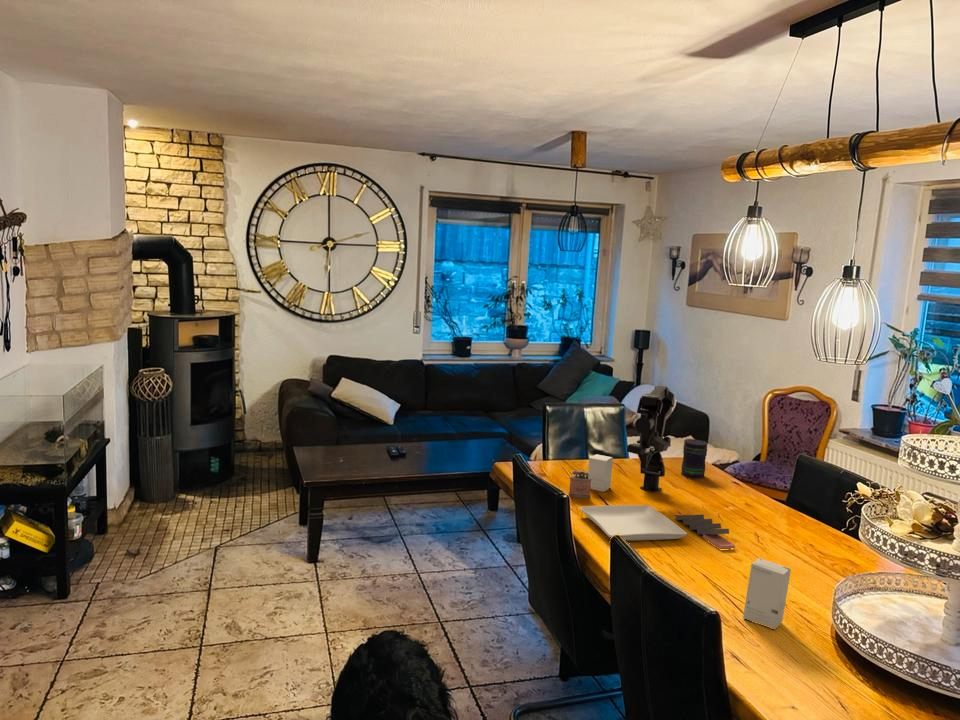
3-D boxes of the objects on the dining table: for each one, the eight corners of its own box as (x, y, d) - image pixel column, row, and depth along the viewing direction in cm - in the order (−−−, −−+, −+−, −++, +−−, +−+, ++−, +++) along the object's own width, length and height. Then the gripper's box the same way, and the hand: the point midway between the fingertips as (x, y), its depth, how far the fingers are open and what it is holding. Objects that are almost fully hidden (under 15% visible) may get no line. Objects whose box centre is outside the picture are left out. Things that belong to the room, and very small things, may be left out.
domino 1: (675, 515, 247) (690, 514, 238) (687, 514, 248) (703, 514, 239) (675, 520, 247) (691, 519, 237) (688, 519, 248) (704, 519, 239)
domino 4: (696, 529, 234) (715, 529, 225) (709, 528, 236) (728, 528, 227) (697, 534, 234) (716, 534, 225) (710, 533, 235) (729, 533, 226)
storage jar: (707, 479, 299) (711, 445, 297) (684, 478, 299) (687, 444, 298) (700, 472, 309) (703, 439, 307) (678, 471, 309) (681, 438, 307)
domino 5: (703, 534, 230) (721, 546, 221) (716, 533, 232) (735, 545, 222) (702, 539, 230) (720, 551, 221) (716, 538, 232) (734, 550, 222)
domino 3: (689, 524, 238) (707, 523, 229) (701, 524, 240) (720, 523, 231) (689, 529, 238) (708, 528, 228) (702, 529, 239) (721, 528, 230)
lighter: (589, 496, 268) (591, 470, 267) (590, 499, 265) (592, 473, 264) (568, 494, 269) (570, 468, 268) (568, 497, 266) (570, 471, 264)
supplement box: (611, 488, 280) (613, 457, 278) (603, 492, 274) (606, 460, 272) (593, 484, 284) (596, 453, 282) (586, 488, 278) (588, 457, 276)
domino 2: (682, 520, 243) (698, 519, 233) (695, 519, 244) (712, 518, 235) (683, 525, 242) (699, 524, 233) (696, 524, 243) (712, 523, 234)
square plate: (609, 546, 220) (610, 534, 220) (577, 516, 247) (578, 505, 246) (687, 543, 227) (689, 531, 226) (648, 513, 253) (649, 503, 253)
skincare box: (742, 619, 177) (748, 563, 175) (750, 611, 181) (757, 556, 179) (777, 632, 171) (783, 573, 169) (784, 623, 176) (791, 566, 174)
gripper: (653, 435, 252) (649, 477, 254) (680, 429, 265) (676, 469, 267) (627, 429, 260) (623, 470, 262) (654, 423, 273) (651, 462, 275)
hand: (644, 468), depth 267 cm, fingers closed
